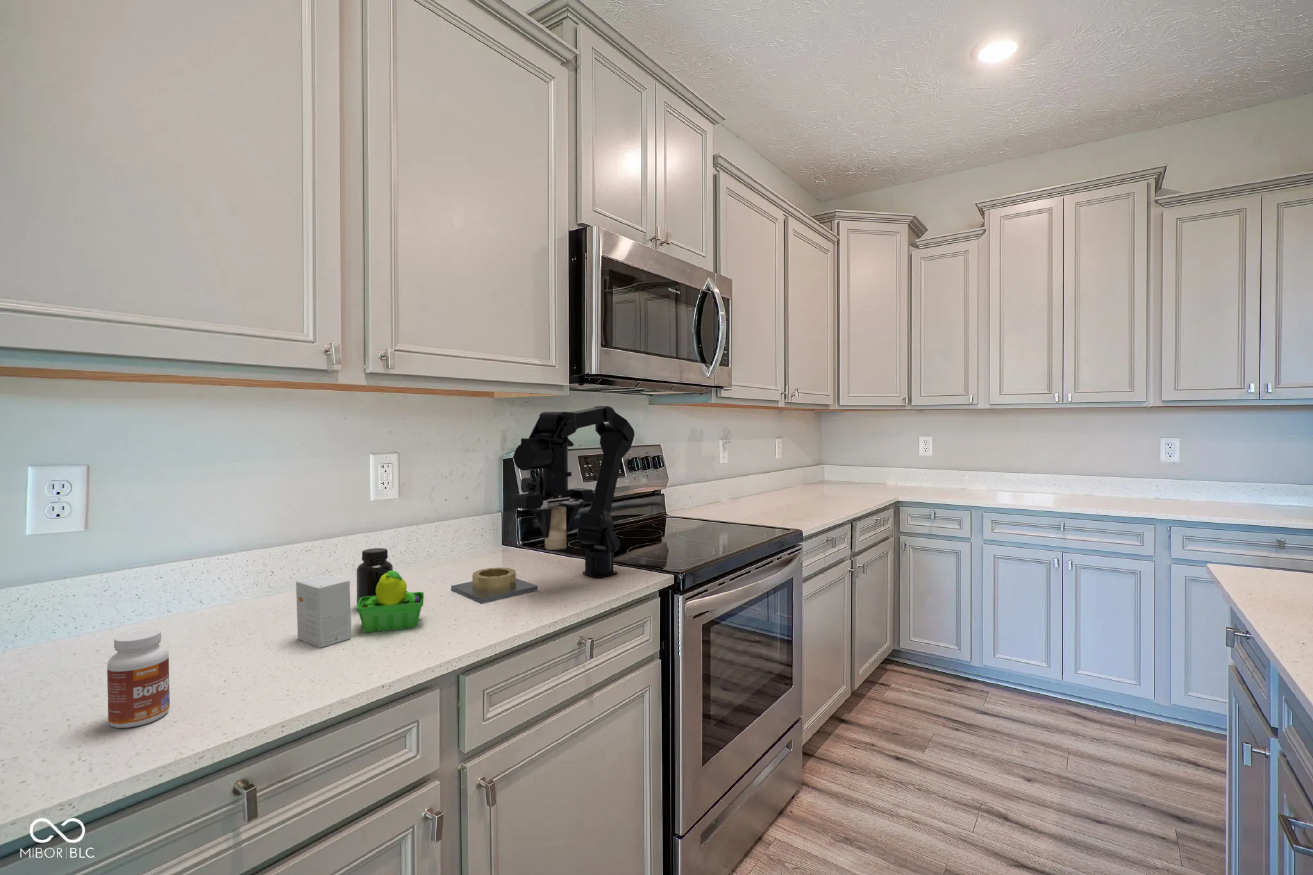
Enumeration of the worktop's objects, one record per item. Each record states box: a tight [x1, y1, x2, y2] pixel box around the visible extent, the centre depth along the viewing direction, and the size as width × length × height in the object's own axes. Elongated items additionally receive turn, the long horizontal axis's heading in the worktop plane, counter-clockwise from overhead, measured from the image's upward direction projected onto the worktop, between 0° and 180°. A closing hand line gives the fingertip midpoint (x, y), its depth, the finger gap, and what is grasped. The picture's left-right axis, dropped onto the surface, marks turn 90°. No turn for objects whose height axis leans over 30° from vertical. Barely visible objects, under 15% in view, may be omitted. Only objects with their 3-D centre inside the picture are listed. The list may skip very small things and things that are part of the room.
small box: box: [295, 574, 352, 649], centre depth 108 cm, size 8×6×10 cm
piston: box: [544, 505, 567, 551], centre depth 137 cm, size 5×5×9 cm
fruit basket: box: [355, 569, 425, 633], centre depth 114 cm, size 11×9×11 cm
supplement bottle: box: [356, 547, 394, 606], centre depth 125 cm, size 7×7×12 cm
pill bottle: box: [106, 628, 171, 729], centre depth 79 cm, size 6×6×11 cm
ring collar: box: [450, 566, 539, 604], centre depth 138 cm, size 14×14×4 cm
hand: (555, 536), depth 137 cm, fingers closed on piston, 5 cm apart
